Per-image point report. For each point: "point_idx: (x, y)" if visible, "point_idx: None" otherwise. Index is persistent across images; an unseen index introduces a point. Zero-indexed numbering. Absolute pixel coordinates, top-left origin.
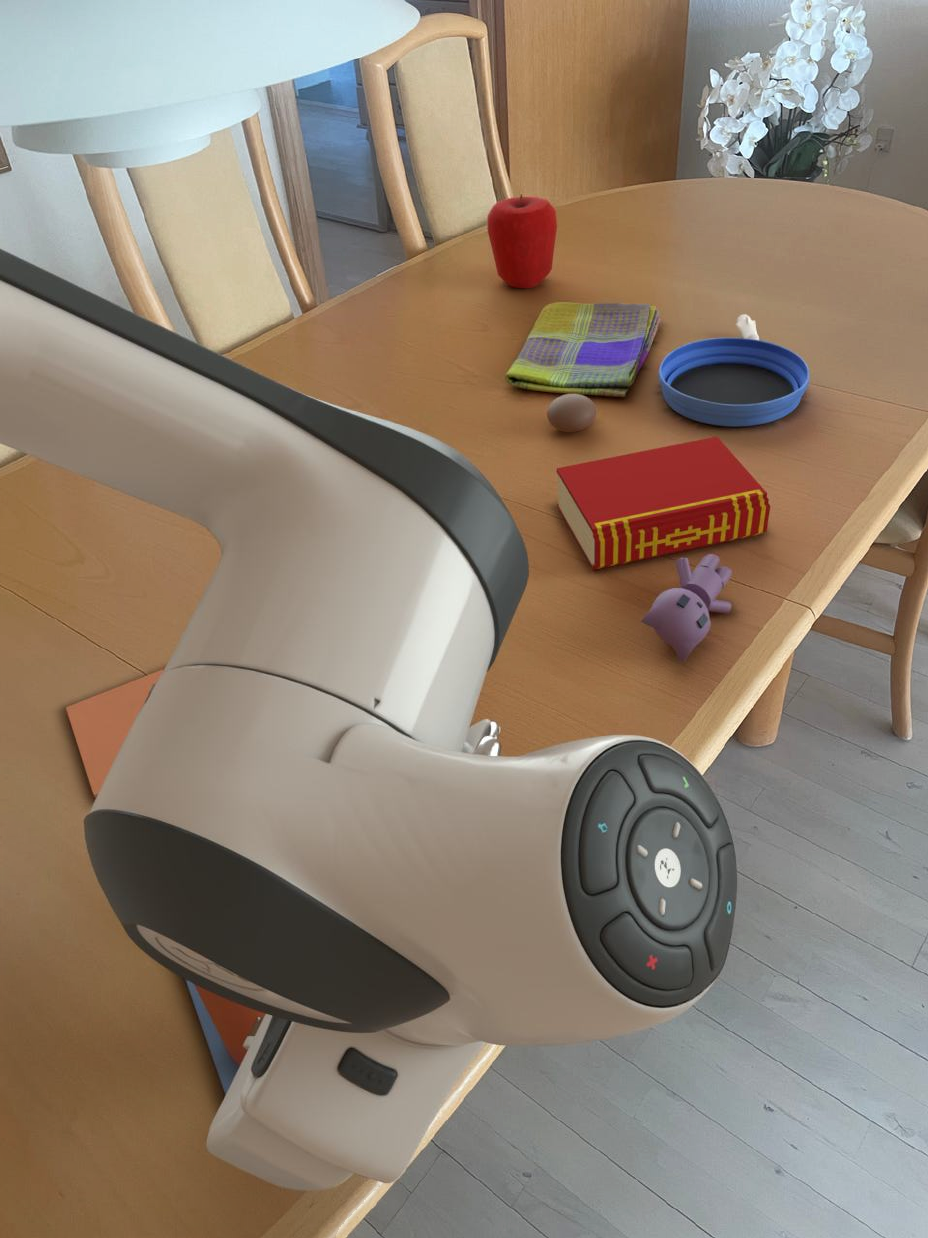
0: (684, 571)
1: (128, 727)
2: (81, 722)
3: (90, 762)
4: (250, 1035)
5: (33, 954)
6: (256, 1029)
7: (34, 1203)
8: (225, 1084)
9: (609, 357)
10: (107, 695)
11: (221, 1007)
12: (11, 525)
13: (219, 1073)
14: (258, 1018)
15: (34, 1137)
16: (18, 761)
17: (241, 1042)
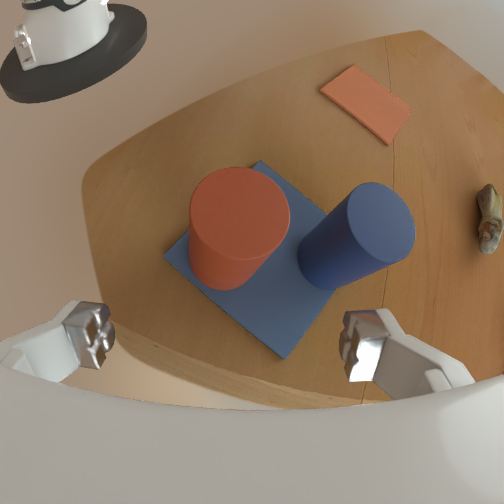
0: None
1: (362, 92)
2: (351, 72)
3: (335, 82)
4: (74, 308)
5: (220, 100)
6: (73, 317)
7: (90, 175)
8: (175, 245)
9: None
10: (371, 78)
11: (189, 225)
12: (405, 32)
13: (181, 238)
14: (95, 309)
15: (122, 154)
16: (317, 56)
17: (189, 248)
